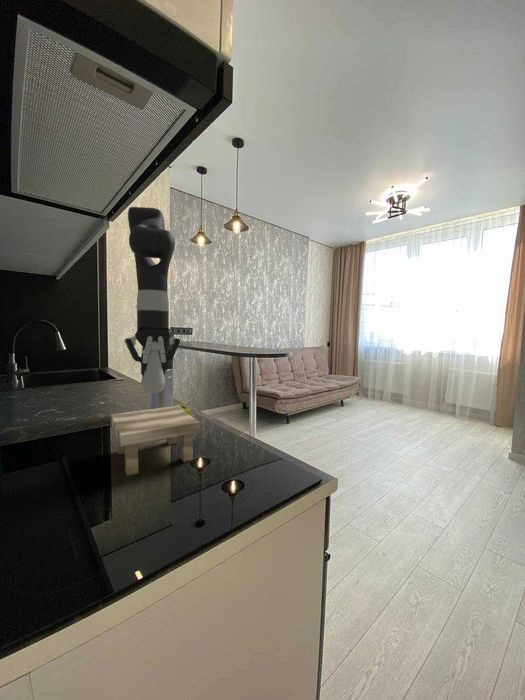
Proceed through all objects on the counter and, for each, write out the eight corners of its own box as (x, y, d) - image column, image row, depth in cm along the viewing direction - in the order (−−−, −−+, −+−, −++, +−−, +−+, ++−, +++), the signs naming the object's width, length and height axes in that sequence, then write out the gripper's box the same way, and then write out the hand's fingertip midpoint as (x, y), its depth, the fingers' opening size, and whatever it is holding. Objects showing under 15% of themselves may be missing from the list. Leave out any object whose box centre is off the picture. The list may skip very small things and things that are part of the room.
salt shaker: (136, 391, 74) (135, 340, 73) (155, 388, 79) (154, 340, 78) (151, 394, 71) (151, 341, 70) (170, 390, 76) (169, 341, 75)
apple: (159, 429, 92) (165, 398, 95) (174, 429, 100) (179, 400, 102) (180, 433, 90) (186, 401, 92) (194, 433, 97) (199, 403, 99)
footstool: (111, 450, 79) (110, 414, 78) (177, 438, 89) (177, 405, 88) (121, 480, 64) (120, 435, 63) (199, 460, 74) (199, 422, 73)
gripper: (125, 307, 67) (125, 381, 68) (185, 310, 74) (185, 377, 76) (120, 308, 73) (121, 377, 74) (176, 311, 81) (176, 373, 82)
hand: (153, 376), depth 75 cm, fingers closed on salt shaker, 3 cm apart
